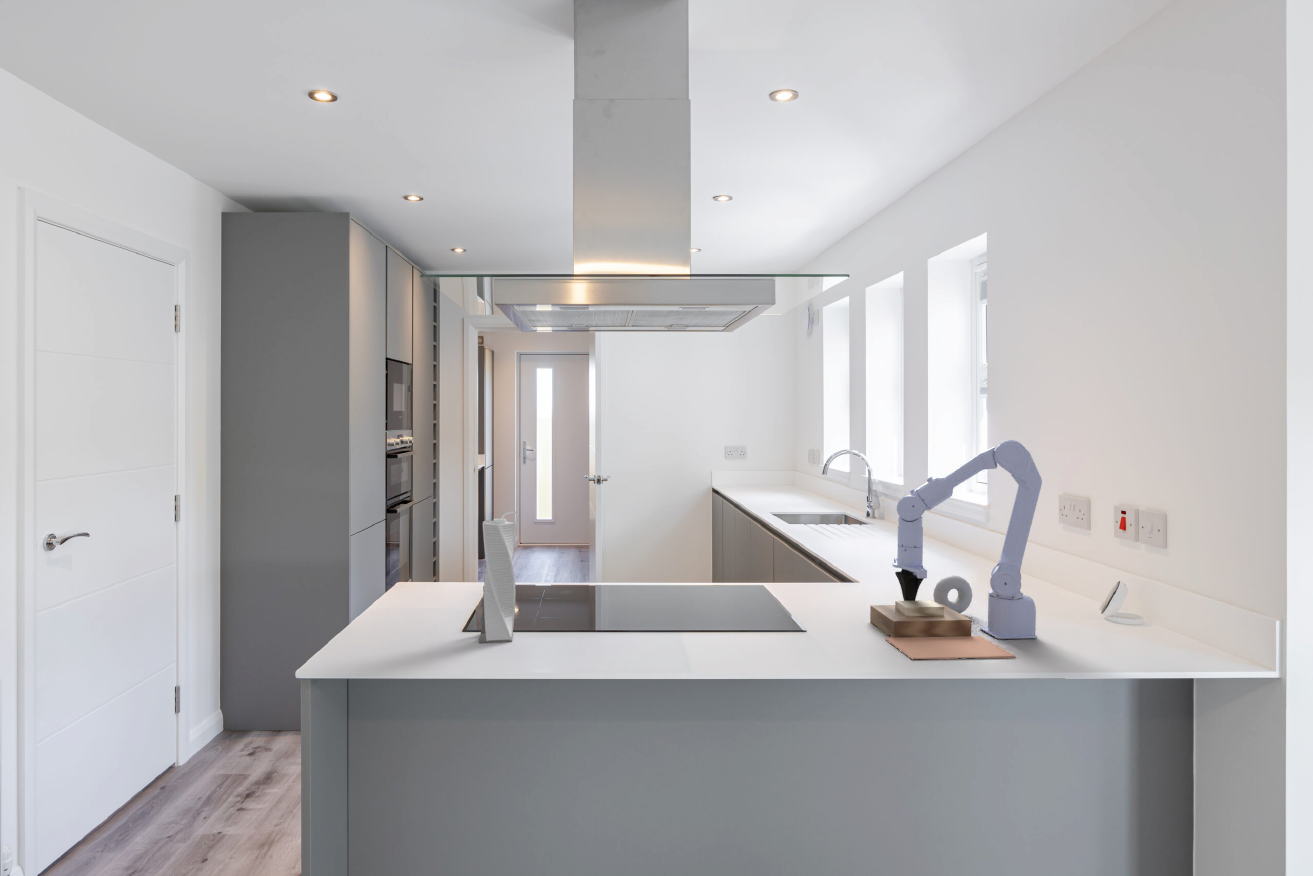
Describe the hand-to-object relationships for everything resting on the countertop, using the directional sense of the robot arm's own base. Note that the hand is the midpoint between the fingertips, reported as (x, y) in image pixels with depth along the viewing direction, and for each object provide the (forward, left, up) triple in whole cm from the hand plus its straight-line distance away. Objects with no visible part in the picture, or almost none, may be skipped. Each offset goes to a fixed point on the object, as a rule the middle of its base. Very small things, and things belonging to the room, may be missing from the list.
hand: (909, 602), depth 180 cm
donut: (-14, -6, -5) cm, 16 cm away
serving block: (0, +6, -5) cm, 8 cm away
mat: (0, +20, -5) cm, 21 cm away
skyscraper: (+96, +7, -5) cm, 96 cm away
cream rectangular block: (0, +6, -1) cm, 6 cm away
